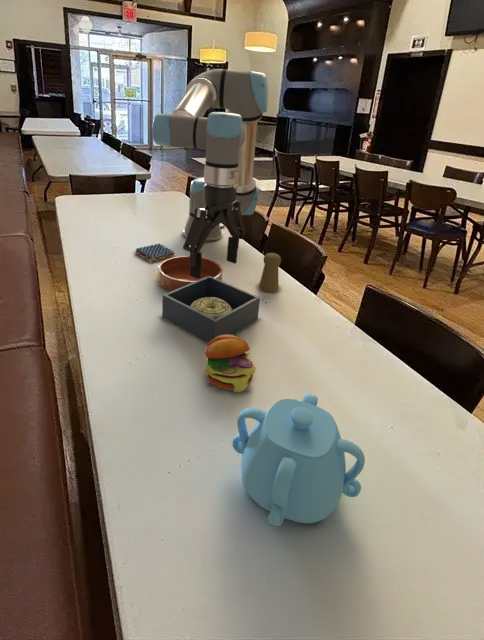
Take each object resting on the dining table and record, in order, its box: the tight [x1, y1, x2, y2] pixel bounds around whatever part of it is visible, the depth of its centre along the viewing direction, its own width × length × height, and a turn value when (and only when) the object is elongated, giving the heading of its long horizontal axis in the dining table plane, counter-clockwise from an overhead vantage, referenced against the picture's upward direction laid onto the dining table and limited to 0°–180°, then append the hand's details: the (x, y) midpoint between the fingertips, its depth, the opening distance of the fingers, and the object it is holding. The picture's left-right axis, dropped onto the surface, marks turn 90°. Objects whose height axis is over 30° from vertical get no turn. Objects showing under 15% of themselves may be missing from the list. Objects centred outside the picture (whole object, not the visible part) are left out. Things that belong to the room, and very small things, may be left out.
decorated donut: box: [190, 297, 232, 319], centre depth 106 cm, size 10×11×4 cm
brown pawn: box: [258, 252, 282, 293], centre depth 125 cm, size 6×6×11 cm
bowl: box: [157, 255, 223, 292], centre depth 126 cm, size 19×19×4 cm
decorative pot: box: [231, 392, 366, 527], centre depth 61 cm, size 16×16×14 cm
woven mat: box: [134, 243, 176, 264], centre depth 144 cm, size 10×11×2 cm
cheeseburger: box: [204, 334, 257, 393], centre depth 85 cm, size 10×11×10 cm
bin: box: [161, 276, 261, 344], centre depth 106 cm, size 18×18×6 cm
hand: (214, 269), depth 102 cm, fingers open, 13 cm apart
